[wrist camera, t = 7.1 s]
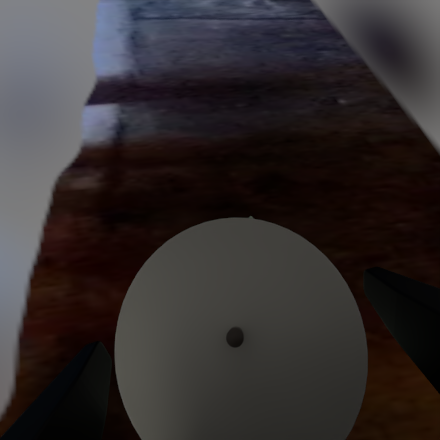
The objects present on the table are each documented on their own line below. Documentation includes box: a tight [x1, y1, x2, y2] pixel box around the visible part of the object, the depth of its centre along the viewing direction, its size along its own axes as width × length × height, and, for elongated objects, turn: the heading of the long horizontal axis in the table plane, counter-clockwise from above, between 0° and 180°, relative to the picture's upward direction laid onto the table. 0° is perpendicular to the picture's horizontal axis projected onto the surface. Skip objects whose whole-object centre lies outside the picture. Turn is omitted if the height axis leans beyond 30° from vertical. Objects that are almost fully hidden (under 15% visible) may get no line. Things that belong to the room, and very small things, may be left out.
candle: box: [115, 218, 368, 440], centre depth 10 cm, size 5×5×13 cm
